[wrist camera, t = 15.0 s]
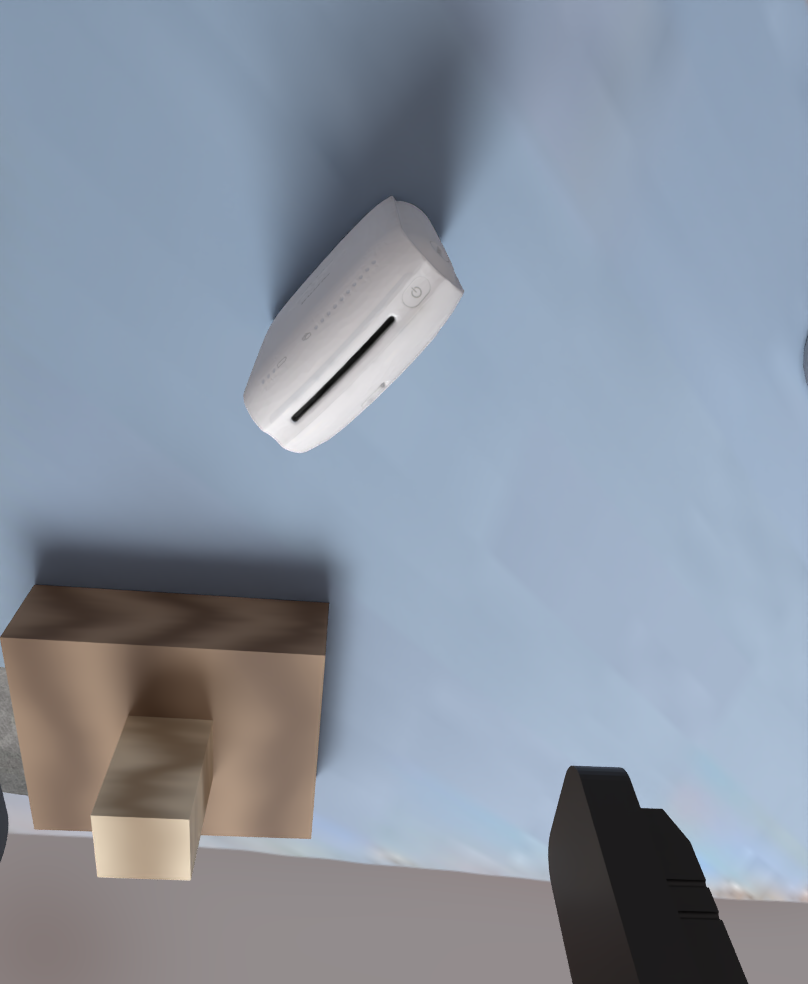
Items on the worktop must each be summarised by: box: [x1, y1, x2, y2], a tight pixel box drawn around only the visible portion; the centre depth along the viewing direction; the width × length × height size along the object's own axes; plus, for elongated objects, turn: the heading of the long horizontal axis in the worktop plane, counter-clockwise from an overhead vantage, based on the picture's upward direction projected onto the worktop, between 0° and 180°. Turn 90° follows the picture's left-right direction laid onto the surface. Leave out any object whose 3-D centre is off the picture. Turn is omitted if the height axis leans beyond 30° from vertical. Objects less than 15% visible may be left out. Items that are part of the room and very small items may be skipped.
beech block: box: [91, 716, 213, 880], centre depth 44 cm, size 5×5×7 cm
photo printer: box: [243, 196, 464, 453], centre depth 33 cm, size 10×4×12 cm, turn 136°
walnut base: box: [0, 585, 329, 839], centre depth 49 cm, size 18×16×5 cm
